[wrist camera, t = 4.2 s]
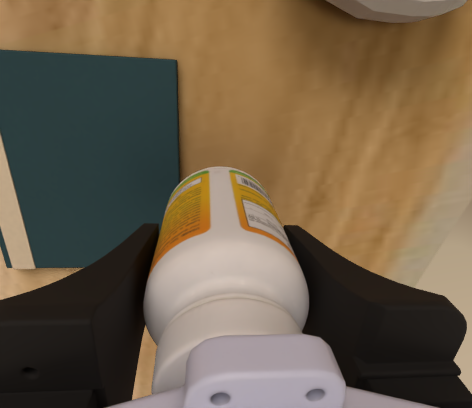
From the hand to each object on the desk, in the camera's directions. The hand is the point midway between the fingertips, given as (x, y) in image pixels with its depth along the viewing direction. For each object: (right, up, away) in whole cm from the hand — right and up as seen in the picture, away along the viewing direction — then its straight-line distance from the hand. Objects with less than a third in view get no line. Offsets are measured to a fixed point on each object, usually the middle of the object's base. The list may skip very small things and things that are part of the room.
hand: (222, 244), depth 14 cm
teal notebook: (-10, +4, +8) cm, 13 cm away
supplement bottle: (0, +1, +3) cm, 3 cm away
